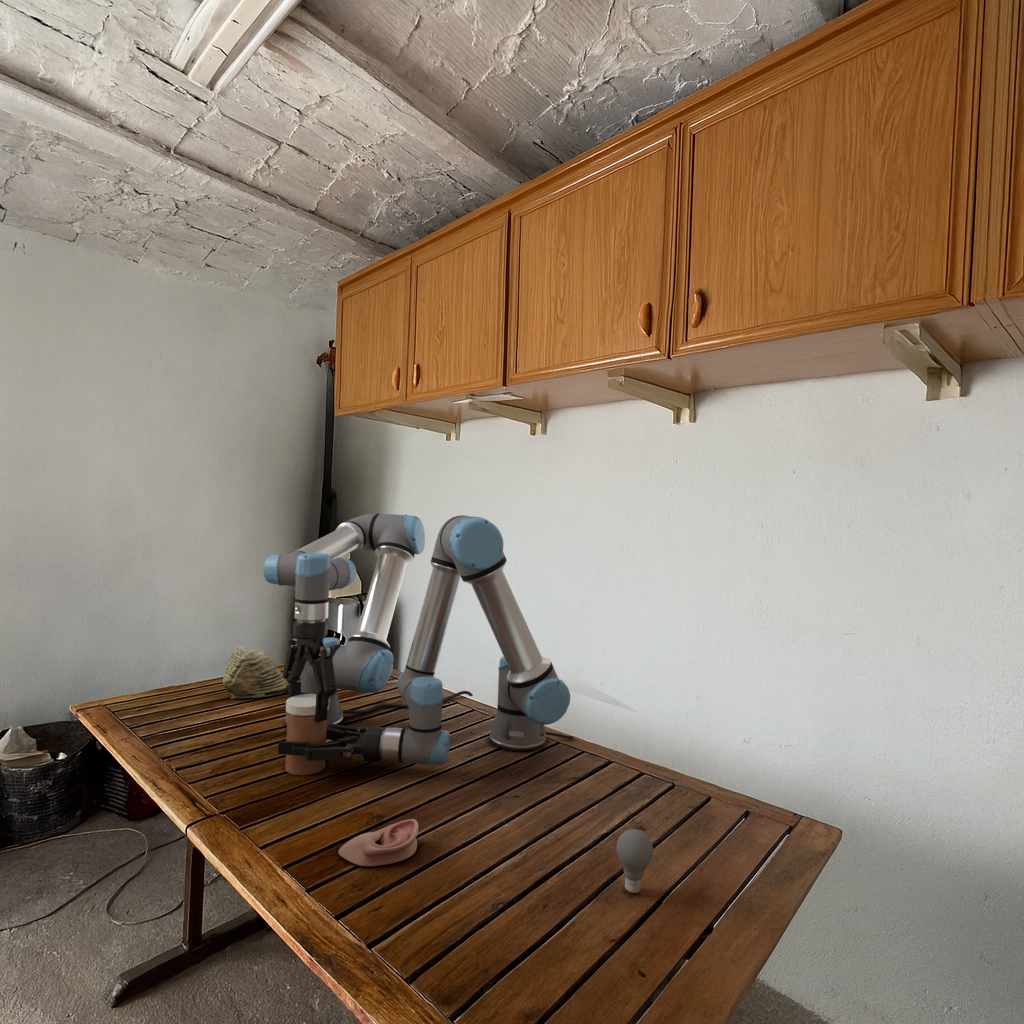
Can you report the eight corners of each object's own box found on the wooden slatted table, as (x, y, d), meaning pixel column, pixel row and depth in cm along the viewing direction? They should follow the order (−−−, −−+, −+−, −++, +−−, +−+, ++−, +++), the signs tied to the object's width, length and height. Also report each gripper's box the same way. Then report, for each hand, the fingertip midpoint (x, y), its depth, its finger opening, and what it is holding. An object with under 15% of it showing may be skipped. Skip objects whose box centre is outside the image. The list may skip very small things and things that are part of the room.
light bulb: (610, 879, 108) (613, 822, 108) (644, 879, 109) (647, 822, 109) (619, 902, 102) (622, 840, 102) (655, 901, 103) (658, 840, 103)
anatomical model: (330, 838, 110) (359, 807, 121) (329, 861, 110) (358, 828, 121) (402, 850, 107) (425, 817, 119) (401, 873, 108) (424, 838, 119)
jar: (316, 776, 143) (318, 710, 143) (278, 773, 144) (280, 707, 144) (331, 760, 152) (333, 698, 152) (295, 757, 153) (297, 695, 153)
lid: (337, 707, 149) (338, 699, 149) (305, 718, 141) (305, 709, 141) (309, 699, 154) (310, 691, 154) (276, 709, 146) (277, 701, 146)
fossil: (218, 695, 195) (220, 647, 195) (278, 685, 208) (279, 640, 207) (228, 703, 189) (230, 653, 188) (289, 692, 201) (290, 645, 201)
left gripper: (269, 615, 151) (265, 708, 151) (327, 629, 138) (323, 731, 138) (296, 611, 157) (293, 701, 157) (355, 625, 144) (351, 722, 144)
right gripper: (370, 781, 137) (267, 775, 137) (392, 742, 158) (303, 737, 159) (372, 746, 137) (268, 741, 137) (393, 712, 158) (304, 708, 159)
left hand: (307, 715), depth 148 cm, fingers closed on lid, 10 cm apart
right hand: (287, 739), depth 148 cm, fingers closed on jar, 9 cm apart
